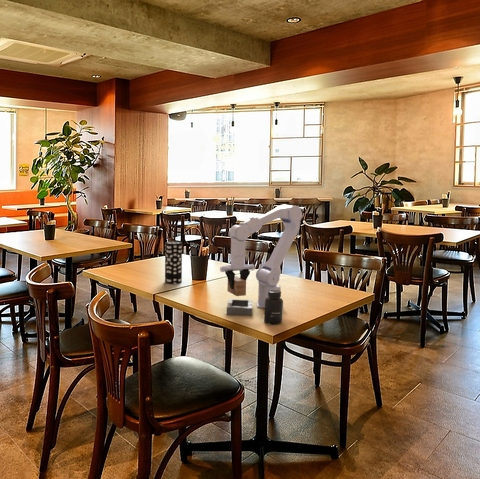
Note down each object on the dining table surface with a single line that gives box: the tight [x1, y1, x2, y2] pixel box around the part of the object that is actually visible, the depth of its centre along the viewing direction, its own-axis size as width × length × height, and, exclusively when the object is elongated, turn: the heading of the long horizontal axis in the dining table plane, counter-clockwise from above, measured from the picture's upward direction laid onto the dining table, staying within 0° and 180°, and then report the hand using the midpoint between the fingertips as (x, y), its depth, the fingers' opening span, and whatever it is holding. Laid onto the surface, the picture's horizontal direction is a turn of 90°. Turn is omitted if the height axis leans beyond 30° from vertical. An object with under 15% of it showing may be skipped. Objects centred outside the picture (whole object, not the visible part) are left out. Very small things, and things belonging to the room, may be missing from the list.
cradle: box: [226, 298, 253, 317], centre depth 188 cm, size 10×12×3 cm
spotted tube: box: [164, 241, 183, 285], centre depth 232 cm, size 8×8×20 cm
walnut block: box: [227, 275, 247, 297], centre depth 189 cm, size 9×4×6 cm, turn 26°
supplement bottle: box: [263, 290, 284, 326], centre depth 174 cm, size 7×7×12 cm
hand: (237, 288), depth 189 cm, fingers closed on walnut block, 4 cm apart
